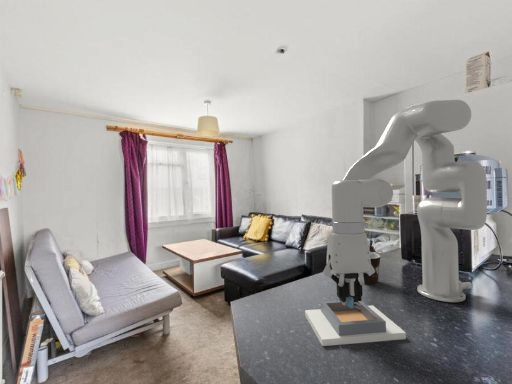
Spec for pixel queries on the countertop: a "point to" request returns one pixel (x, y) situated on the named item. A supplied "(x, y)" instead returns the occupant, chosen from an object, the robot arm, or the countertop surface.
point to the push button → (350, 291)
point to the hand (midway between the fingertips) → (349, 298)
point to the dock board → (351, 324)
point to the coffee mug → (375, 263)
